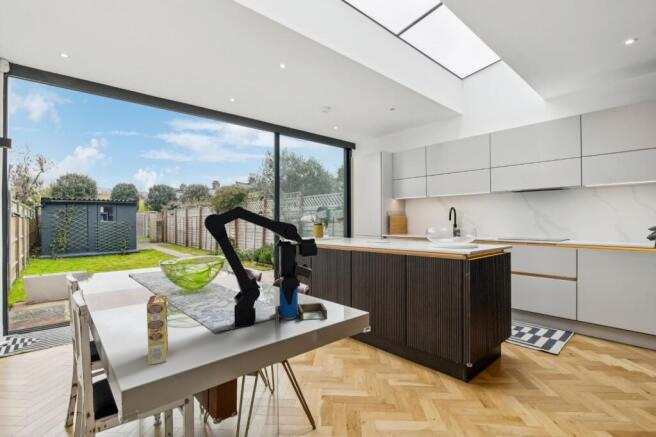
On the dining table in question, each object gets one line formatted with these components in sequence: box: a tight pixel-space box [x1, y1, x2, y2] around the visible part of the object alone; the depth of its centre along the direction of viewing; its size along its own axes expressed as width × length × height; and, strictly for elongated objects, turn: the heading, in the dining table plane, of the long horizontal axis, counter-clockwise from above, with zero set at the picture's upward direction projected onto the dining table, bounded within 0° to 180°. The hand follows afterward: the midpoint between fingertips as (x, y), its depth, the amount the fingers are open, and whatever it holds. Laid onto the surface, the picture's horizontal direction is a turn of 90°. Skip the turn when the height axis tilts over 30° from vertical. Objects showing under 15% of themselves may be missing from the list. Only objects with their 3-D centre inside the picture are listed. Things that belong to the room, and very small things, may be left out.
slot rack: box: [274, 302, 328, 323], centre depth 117 cm, size 18×10×3 cm, turn 101°
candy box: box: [146, 294, 169, 366], centre depth 84 cm, size 9×4×15 cm, turn 23°
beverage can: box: [278, 285, 299, 321], centre depth 116 cm, size 6×6×12 cm
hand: (288, 302), depth 116 cm, fingers closed on beverage can, 6 cm apart
